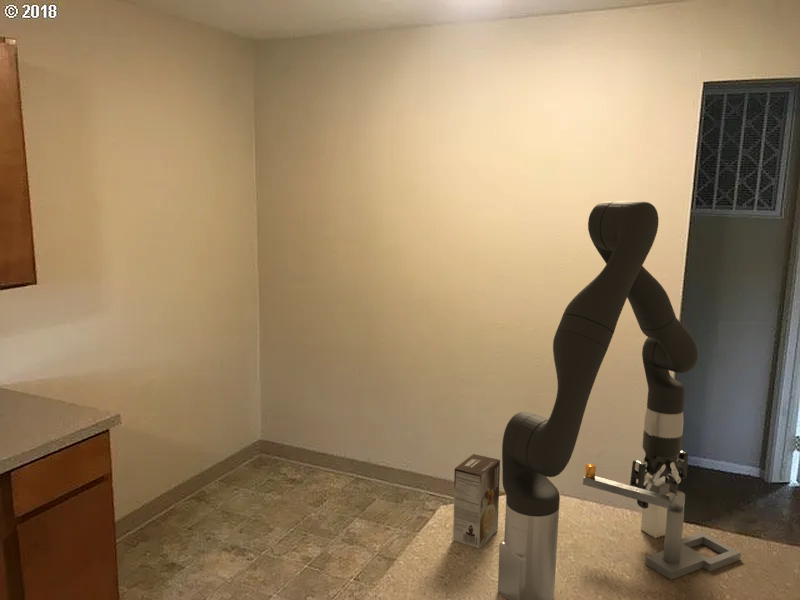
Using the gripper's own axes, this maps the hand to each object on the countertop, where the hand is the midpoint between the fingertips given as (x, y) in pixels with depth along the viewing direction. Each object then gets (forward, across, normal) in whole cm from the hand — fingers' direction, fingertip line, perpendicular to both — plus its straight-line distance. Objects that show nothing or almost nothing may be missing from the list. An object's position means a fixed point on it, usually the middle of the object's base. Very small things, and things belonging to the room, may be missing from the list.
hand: (656, 502), depth 144 cm
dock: (+7, +2, +11) cm, 13 cm away
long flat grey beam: (-6, +12, +4) cm, 13 cm away
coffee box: (+7, +35, -16) cm, 39 cm away
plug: (+7, 0, 0) cm, 7 cm away
